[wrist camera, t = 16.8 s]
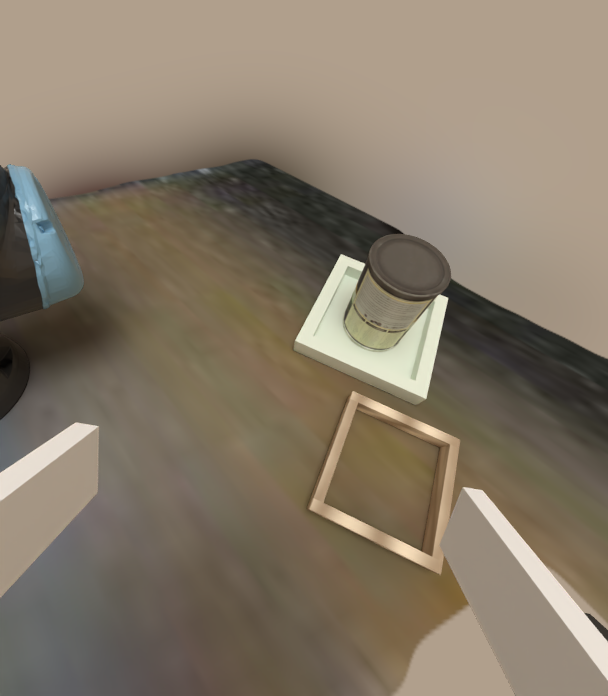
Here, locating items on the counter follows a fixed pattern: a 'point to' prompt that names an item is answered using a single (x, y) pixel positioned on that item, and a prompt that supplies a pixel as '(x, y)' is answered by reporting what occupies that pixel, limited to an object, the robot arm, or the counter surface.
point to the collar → (440, 493)
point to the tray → (370, 367)
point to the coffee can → (394, 291)
